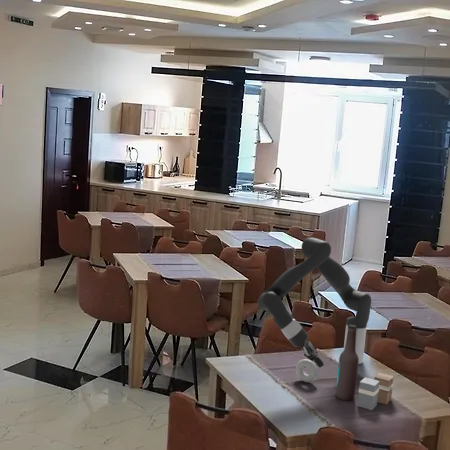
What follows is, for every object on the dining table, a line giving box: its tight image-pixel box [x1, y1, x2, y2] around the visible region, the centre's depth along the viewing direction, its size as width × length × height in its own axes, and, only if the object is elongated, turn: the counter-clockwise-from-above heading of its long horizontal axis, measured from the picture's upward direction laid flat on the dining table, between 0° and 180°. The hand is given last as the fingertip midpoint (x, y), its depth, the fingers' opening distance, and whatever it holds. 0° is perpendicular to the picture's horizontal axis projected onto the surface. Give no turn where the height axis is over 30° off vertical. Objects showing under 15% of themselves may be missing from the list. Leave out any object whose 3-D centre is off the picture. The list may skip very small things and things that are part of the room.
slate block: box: [356, 377, 380, 411], centre depth 267 cm, size 6×6×10 cm
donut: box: [295, 358, 319, 383], centre depth 286 cm, size 10×4×10 cm, turn 57°
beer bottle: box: [335, 325, 359, 401], centre depth 272 cm, size 8×8×30 cm
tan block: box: [373, 372, 395, 405], centre depth 273 cm, size 6×6×10 cm
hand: (321, 365), depth 274 cm, fingers closed
